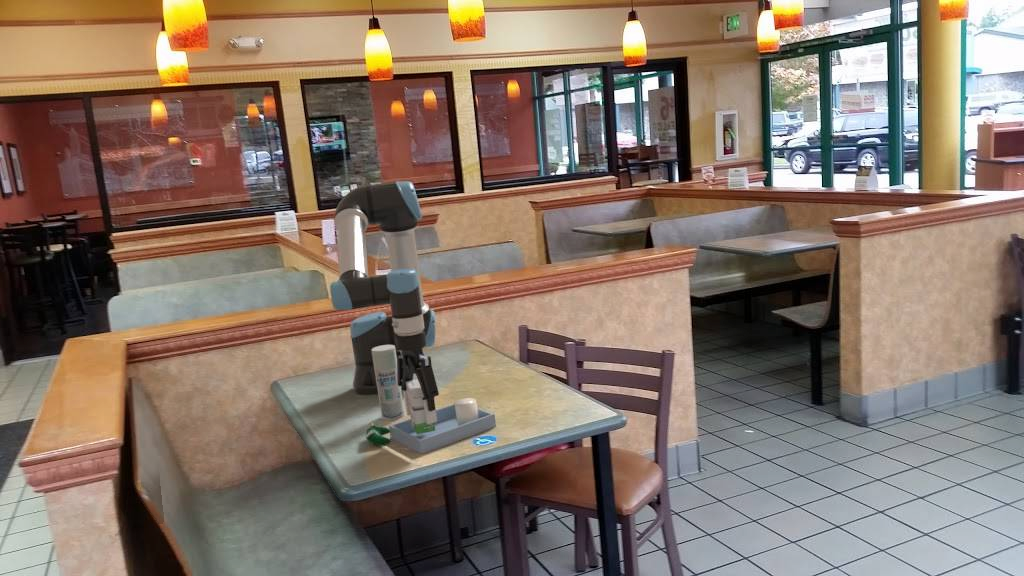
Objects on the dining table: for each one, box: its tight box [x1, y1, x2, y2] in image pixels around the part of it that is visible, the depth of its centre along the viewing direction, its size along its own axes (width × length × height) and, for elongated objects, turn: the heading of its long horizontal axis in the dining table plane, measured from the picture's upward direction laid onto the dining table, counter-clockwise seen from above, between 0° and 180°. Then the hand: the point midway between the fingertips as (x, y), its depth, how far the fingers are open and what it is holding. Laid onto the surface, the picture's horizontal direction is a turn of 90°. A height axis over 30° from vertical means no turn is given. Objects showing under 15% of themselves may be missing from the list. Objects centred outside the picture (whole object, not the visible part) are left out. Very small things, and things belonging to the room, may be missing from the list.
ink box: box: [406, 378, 435, 434], centre depth 191 cm, size 9×5×12 cm, turn 17°
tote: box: [388, 403, 497, 455], centre depth 194 cm, size 16×22×4 cm
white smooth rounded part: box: [453, 397, 479, 426], centre depth 195 cm, size 6×6×7 cm
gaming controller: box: [365, 422, 391, 447], centre depth 195 cm, size 9×4×6 cm
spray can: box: [371, 345, 405, 422], centre depth 211 cm, size 6×6×20 cm
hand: (421, 418), depth 192 cm, fingers closed on ink box, 9 cm apart
